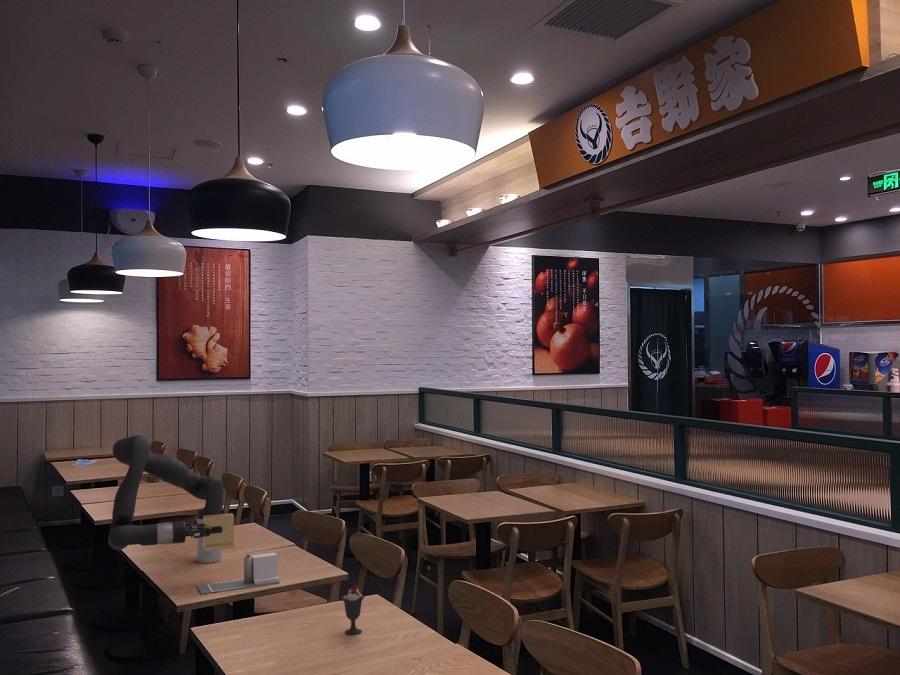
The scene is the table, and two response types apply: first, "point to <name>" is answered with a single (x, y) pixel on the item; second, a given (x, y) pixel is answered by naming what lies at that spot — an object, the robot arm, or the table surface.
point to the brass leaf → (219, 539)
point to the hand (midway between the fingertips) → (220, 528)
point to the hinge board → (249, 574)
